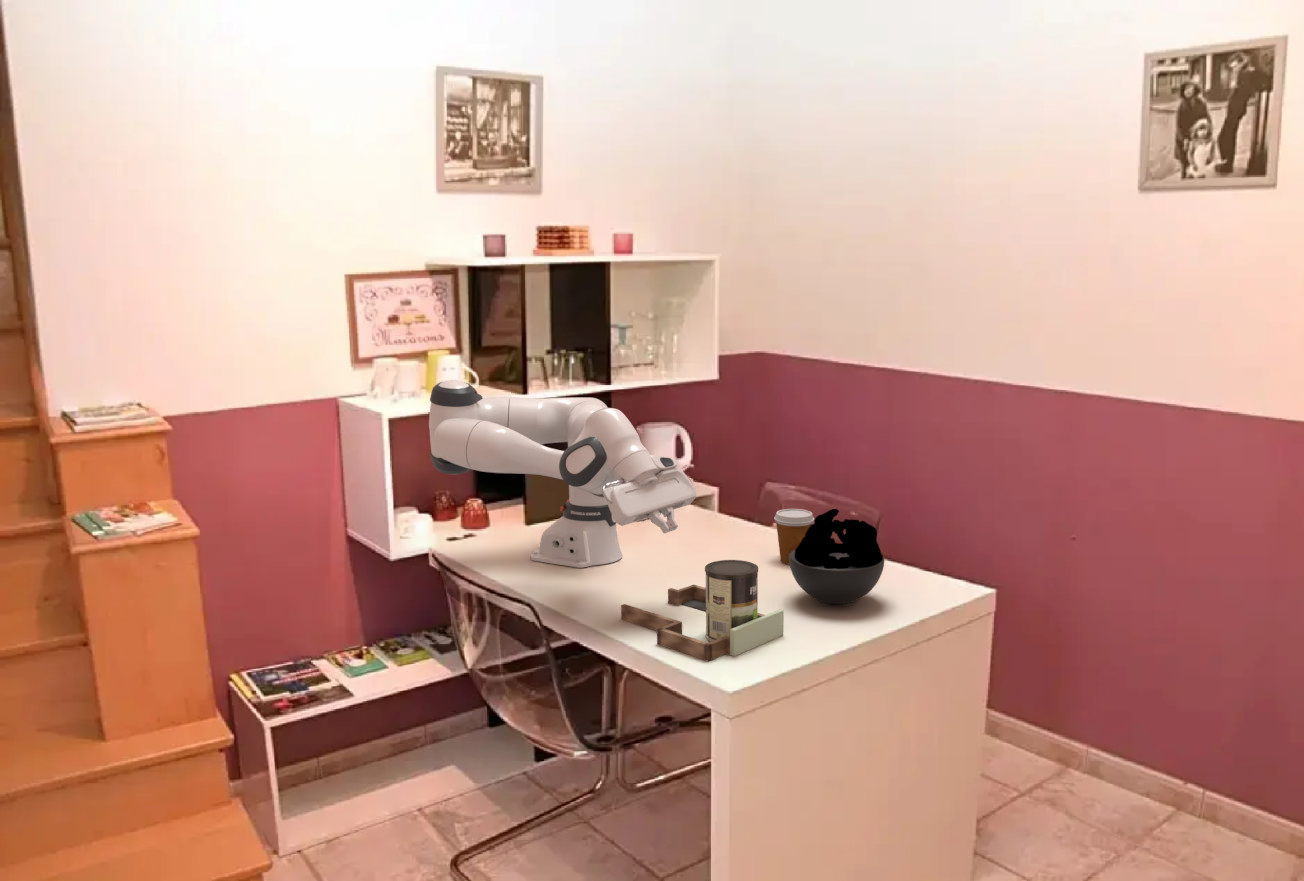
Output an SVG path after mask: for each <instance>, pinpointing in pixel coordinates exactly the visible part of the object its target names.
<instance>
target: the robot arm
mask: <svg viewBox="0 0 1304 881" xmlns="http://www.w3.org/2000/svg"><path fill="white" fill-rule="evenodd" d="M429 397H430V398H429V401H430V407H429V417H428V428H429V440H430V450H431V452H430V459H431V464H432V466H433V467H434V468H435V469H436V470H437V471H438V472H439V473H442V474H446V475H461V474H462V475H463V474H465V473H468V472H469V471H470V470H473V471H474V470H475V471H478V472H484V473H492V474H493V473H494V474H519V475H521V474H524V475H537V476H538V475H539V476H544V477H548V478H553V479H558V480H561V481H562V480H563V481H564V483H566V484H567V485H568V496H569V498H568V499H567V500H566V502H565V503H563V504H562V506H560V511H559V512H562V516H561V517H560V518H558V519H557V520H556V521H554V522H553V523H552V524H551V525H549V526H548V527H546V529H545V530H544V531H543V532H542V534H541V537H540V542H539V546H538V547H537V548H535V549H534V550H533V551H531V555H530V560H531V561H534V562H541V563H547V564H554V565H560V566H565V567H572V568H577V569H580V568H581V569H582V568H587V567H591V566H599V565H606V564H611V563H614V562H617V561H619V560H621V559H622V558H623V553H622V550H621V547H620V546H621V545H620V543H619V538H618V531H617V530H618V529H617V524H618V525H619V526H621V527H622V526H626V525H629V524H630V525H631V524H633V523H637V522H640V521H639V520H641V521H643V520H642V519H645V520H647V519H646V518H648V520H650V522H651V523H652V524H654V525H655V526H657V527H658V528H659V529H660V530H661V532H662V533H663V534H667V533H671V532H673V531H676V530H677V529H678V527H679V525H678V523H677V522H676V520H675V510H676V509H680V508H683V507H687V506H689V505H691V504H692V503H693V502H694V500H695V499H696V497H697V490H696V489H695V486H694V485H693V484H692V482H691V480H690V479H689V477H688V476H687V474H686V472H684V471H683V470H682V469H681V468H678V466H679V464H678V461H677V459H676V458H675V457H672V456H660V455H654V454H651V453H650V452H649V450H648V449H647V448H646V447H645V446H644V445H643V444H642V441H641V439H640V435H639V434H638V431H637V430H636V428H635V427H634V426H633V424H632V423H631V421H630V420H629V419H628V417H627V416H626V415H625V414H624V413H623V412H622V411H621V410H619V409H618V408H614V407H613V408H612V407H608V406H607V404H605V403H604V401H602V400H600V399H598V398H596V397H551V398H547V397H546V398H537V397H516V396H514V397H512V396H496V397H493V396H492V397H483V396H482V394H479V393H478V392H477V389H476V388H475V387H474V386H472V385H471V384H470V383H469V382H465V381H462V380H459V379H458V380H456V379H449V380H445V381H439V382H438V383H436V385H434V386H433V387H432V389H431V393H430V396H429ZM554 443H555V444H556V443H557V444H558V443H567V448H566V449H565V450H560V449H556V448H552V447H548V446H545V445H546V444H554ZM661 514H662V515H663V517H664V518H666V520H664V518H662V517H661Z"/></svg>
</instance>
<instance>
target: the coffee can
mask: <svg viewBox="0 0 1304 881" xmlns="http://www.w3.org/2000/svg"><path fill="white" fill-rule="evenodd" d="M704 572H705V588H706V612H705V637H706V639H707V640H708V641H709V642H711V641H714V640H716V639H718V638H721V637H723V636H728V637H730V629H732V628H735V627H737V626H740V625H742V624H745V623H747V622H750V621H752V620H754V619H757V618H758V613H759V611H758V606H759V605H758V599H759V598H758V596H759V595H758V594H759V592H758V591H759V590H758V589H759V588H758V586H759V583H758V581H759V579H758V575H759V574H758V573H759V566H758V565H757V564H756V563H753V562H750V561H746V560H740V559H739V560H738V559H723V560H717V561H716V560H715V561H712V562H709V563H707V564H706V565H705V566H704Z"/></svg>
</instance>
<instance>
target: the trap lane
mask: <svg viewBox="0 0 1304 881" xmlns="http://www.w3.org/2000/svg"><path fill="white" fill-rule="evenodd" d="M667 602H668V604H672V605H675V606H682V605H683V606H685V607H688V608H693V609H696V610H699V611H702V612H705V613H706V587H703V586H701V585H697V584H692V585H691V584H690V585H688V586H685V587H682V588H679V589H676V588H673V587H670V588H668V589H667ZM620 613H621V614H620V616H621V617H620V619H621V620H622V621H626V622H627V623H628V622H629V623H630V624H631V623H632V624H634V625H638V626H641V627H644V628H647V629H650V630H653V631H656V642H657V643H656V644H657V645H660V646H663V647H666V648H668V649H672V650H675V651H677V652H679V653H683V654H687V655H689V656H691V657H694V658H698V659H701V660H703V661H707V662H710V661H712V660H714V659H717V658H719V657H721V656H724V655H729V656H731V655H730V637H728V636H723V637H721V638H718V639H716V640H714V641H709V642H706V641H703V640H700V639H696V638H694V637H691V636H688V635H685V634H683V622H682V621H680V620H677V619H674V618H670V617H667V616H665V615H661V614H657V613H654V612H650V611H647V610H645V609H642V608H638V607H635V606H632V605H629V604H626V603H624V604H621V605H620ZM764 615H765V614H763V613H761V612H758V618H759V617H762V616H764Z"/></svg>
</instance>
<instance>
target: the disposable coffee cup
mask: <svg viewBox="0 0 1304 881" xmlns="http://www.w3.org/2000/svg"><path fill="white" fill-rule="evenodd" d="M773 518H774V519H773V520H774V522H775V524H776V532H777V539H778V540H777V541H778V548H779V549H778V550H779V557H780V562H781V563H783V564H784V565H789V566H790V564H789V554H790V552H792V551H793V550H795V549H796V548H797V547H798V545H799V544H800V542H801V540H802V538H803V537H805V533H806V532H807V530H808V528H809V527H810V526H811V525H812V524H814V520H815V517H814V515H813V512H812V511H809V510H807V509H801V508H786V509H785V508H784V509H779V510H777V511H776V513H775V516H774V517H773Z"/></svg>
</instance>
